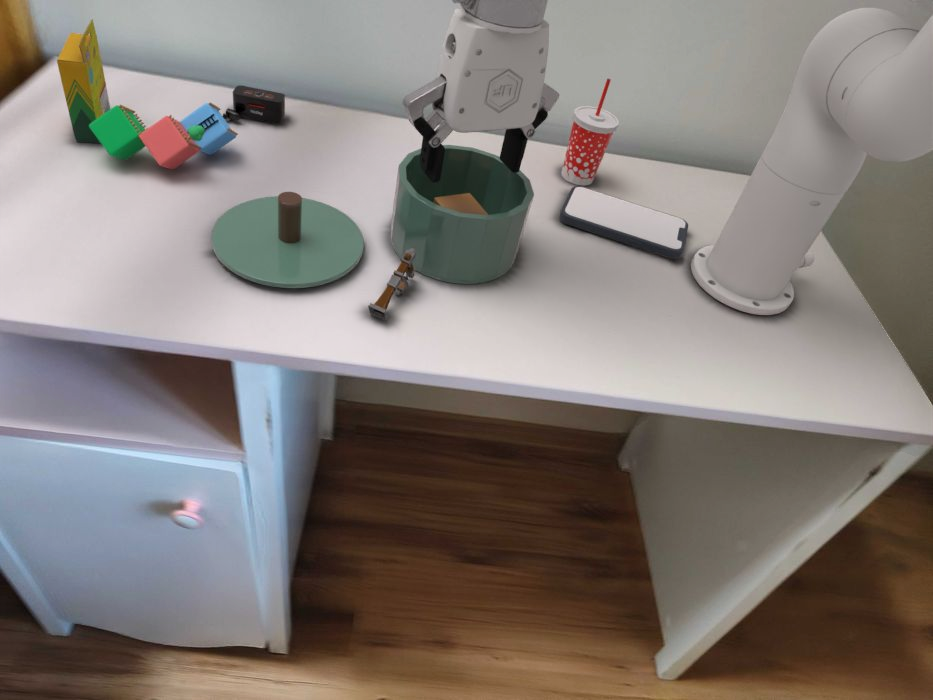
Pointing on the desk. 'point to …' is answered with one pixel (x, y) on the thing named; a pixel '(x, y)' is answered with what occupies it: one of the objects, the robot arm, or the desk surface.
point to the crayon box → (83, 82)
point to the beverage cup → (588, 142)
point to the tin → (460, 216)
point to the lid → (287, 241)
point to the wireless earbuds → (256, 105)
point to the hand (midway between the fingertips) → (470, 170)
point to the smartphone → (625, 222)
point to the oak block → (460, 203)
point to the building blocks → (163, 134)
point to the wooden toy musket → (394, 285)
